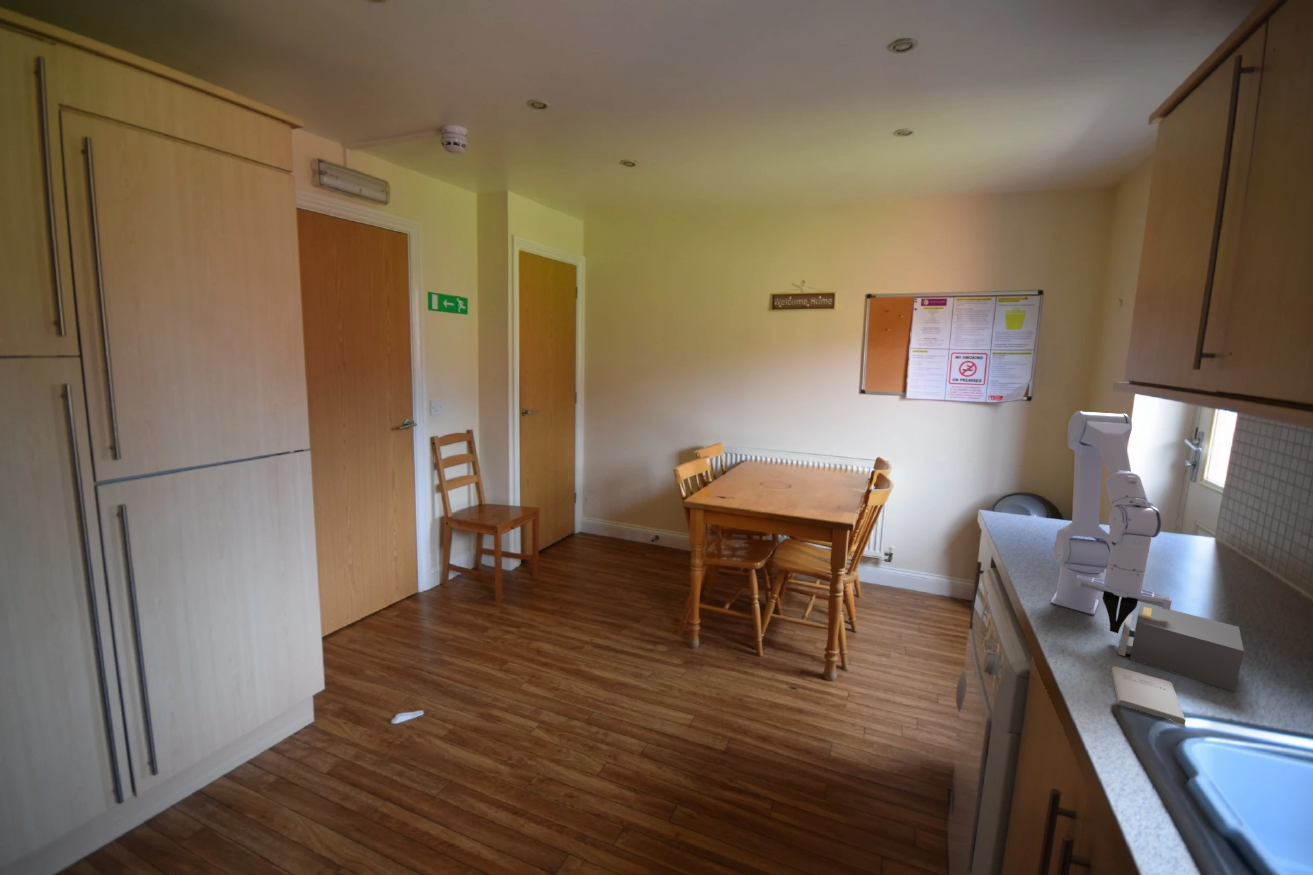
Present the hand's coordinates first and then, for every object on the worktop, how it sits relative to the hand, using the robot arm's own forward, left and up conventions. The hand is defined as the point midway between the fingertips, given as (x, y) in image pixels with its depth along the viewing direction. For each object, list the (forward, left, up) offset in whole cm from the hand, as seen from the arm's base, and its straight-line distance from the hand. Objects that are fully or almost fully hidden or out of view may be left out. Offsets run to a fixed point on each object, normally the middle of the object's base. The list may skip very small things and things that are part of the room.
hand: (1114, 630), depth 113 cm
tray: (0, +8, -2) cm, 8 cm away
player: (0, +10, -2) cm, 10 cm away
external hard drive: (+19, +6, -3) cm, 20 cm away
